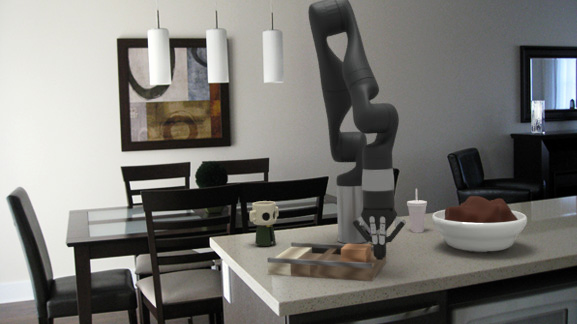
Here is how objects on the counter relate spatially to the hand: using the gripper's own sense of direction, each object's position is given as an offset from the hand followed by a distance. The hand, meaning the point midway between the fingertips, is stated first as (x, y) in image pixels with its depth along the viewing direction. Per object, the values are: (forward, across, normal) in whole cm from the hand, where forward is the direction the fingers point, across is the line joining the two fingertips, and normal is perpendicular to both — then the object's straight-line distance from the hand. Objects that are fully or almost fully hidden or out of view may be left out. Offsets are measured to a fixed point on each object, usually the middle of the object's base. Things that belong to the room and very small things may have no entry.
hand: (380, 258), depth 139 cm
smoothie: (+4, -2, -51) cm, 51 cm away
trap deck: (+4, +14, -3) cm, 15 cm away
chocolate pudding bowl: (+4, -22, -31) cm, 38 cm away
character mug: (+4, +40, -24) cm, 46 cm away
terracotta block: (+1, +6, 0) cm, 6 cm away
